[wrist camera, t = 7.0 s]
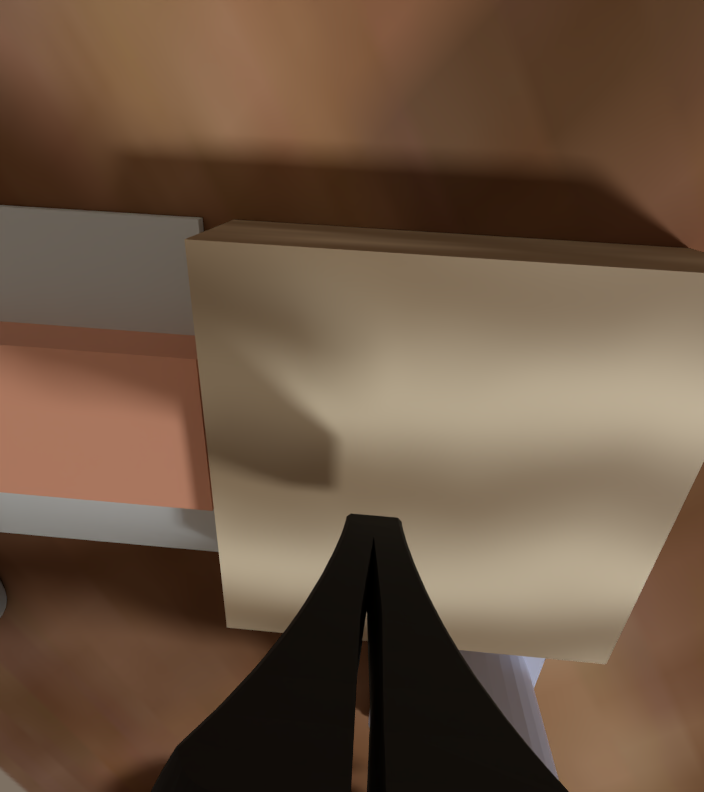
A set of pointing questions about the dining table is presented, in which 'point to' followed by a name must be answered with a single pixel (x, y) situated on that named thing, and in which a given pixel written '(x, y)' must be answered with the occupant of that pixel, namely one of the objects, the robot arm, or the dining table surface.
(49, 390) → the terracotta brown block
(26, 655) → the dining table surface
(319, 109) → the dining table surface
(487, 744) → the robot arm
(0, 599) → the travel mug
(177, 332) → the mat
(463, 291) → the board
